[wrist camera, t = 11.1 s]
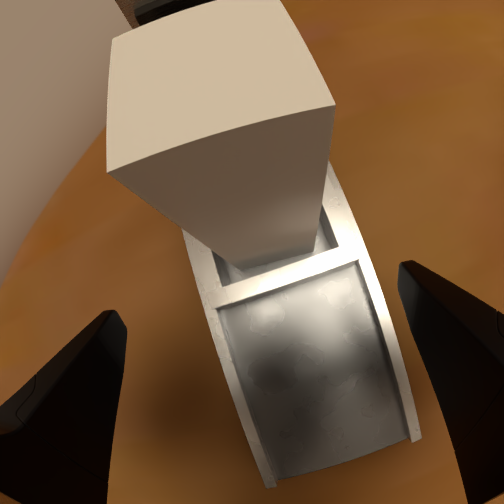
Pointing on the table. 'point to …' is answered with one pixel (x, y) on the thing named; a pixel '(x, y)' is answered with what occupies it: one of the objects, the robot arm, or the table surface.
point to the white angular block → (223, 127)
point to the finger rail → (303, 337)
